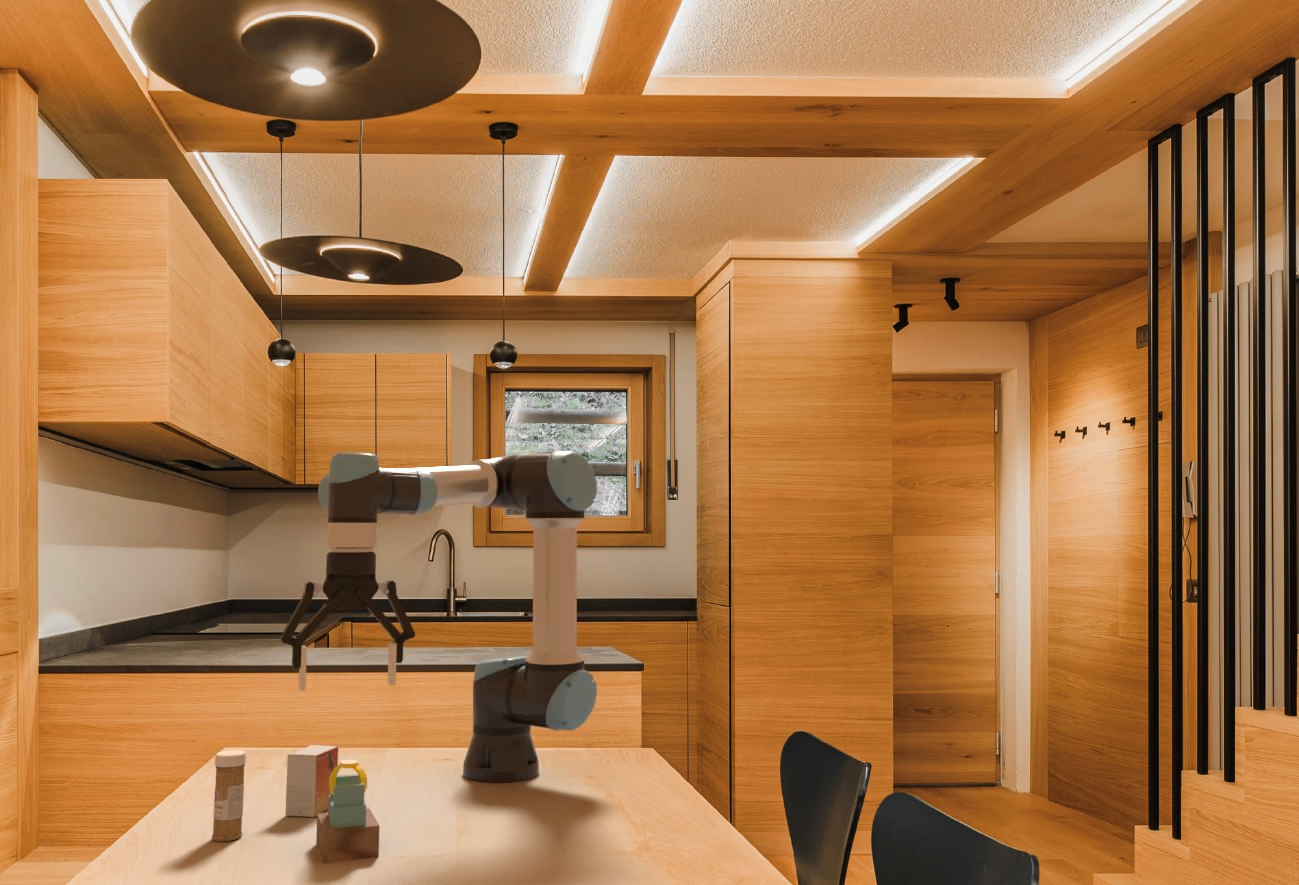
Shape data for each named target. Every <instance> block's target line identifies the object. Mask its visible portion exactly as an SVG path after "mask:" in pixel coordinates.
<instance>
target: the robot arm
mask: <svg viewBox="0 0 1299 885" xmlns="http://www.w3.org/2000/svg"><path fill="white" fill-rule="evenodd" d="M379 461H380V460H379V457H378V455H377V454H374V453H367V452H366V453H364V452H340V453H336V454H334V455H333V456H332V457H331V459H330V463H329V471H328V472H329V473H327V474H326V475H325V476H323V477H322V478H321V480H320V482H319V485H318V489H317V490H318V491H317V496H318V501H319V504H320V505H321V507H322V508H323V509H325V511H326V512H327V515H328V516H327V538H326V539H327V541H326V542H327V543H326V547H327V548H328V549H330V552H329V551H328V552H327V554H326V564H325V565H326V566H325V580H324V582H323V583H315V582H312V581H306V582H305V583H304V587H303V594H302V597H301V598H300V600H299V602H298V604H297V605H296V608H295V610H294V611H293V613H292V615H291V617H290V619H289V620H288V622H287V624H286V626H285V628H284V630H283V631H282V633H281V635H280V637H279V638H280V641H281V643H283V644H286V645H289V646H291V647H292V650H291V651H292V652H291V654H292V656H291V664H292V667H293V669H298V690H299V691H300V692H301V691H302V692H305V691H307V690H306V683H307V660H308V658H307V656H308V654H307V653H308V647H307V646H306V645H303V644H304V643H306V641H307V640H308V638H309V637H310V636H311V635H312V634H313V633H314V632H315V631H316V630H317V628H318V627H319V626H320V625H321V624H322V623H323V622H324V621H325V619H326V618H327V617H328V616H329V615H330V614H331V613H332V612H333V611H334V610H335V609H336V610H339V611H348V610H352V611H353V610H355V611H361V610H363V609H365V608H366V610H368V611H369V612H370V614H371V615H372V616H373V617H374V618H375V619H376V621H378V623H379V624H380V625H381V626H382V628H384V629H385V631H386V633H388V634H389V635H390V637H391V638H392V639H393V641H389V642H388V655H387V656H388V660H387V661H388V664H387V666H388V667H387V684H388V685H389V686H396V685H397V683H396V682H397V664H402V663H403V660H404V643H405V642H406V641H407V640H410V639H414V638H415V637H416V632H415V630H414V628H413V626H412V623H411V622H410V620H409V617H408V615H407V613H406V611H405V609H404V607H403V604H402V603H401V601H400V599H399V596H398V595H397V593H398V591H397V585H396V584H397V583H396V582H395V581H394V580H390V579H388V580H386V581H382V582H378V581H377V578H376V570H377V569H376V568H377V567H376V566H377V554H376V553H375V552H374V551H373V549H376V548H377V527H378V526H377V525H378V524H377V523H378V514H379V515H390V514H391V515H403V514H404V515H412V516H414V515H417V514H418V515H419V514H420V515H421V514H426V513H428V512H430V511H431V510H432V509H433V508H435V507H445V506H446V507H447V506H457V505H458V506H459V505H467V504H468V505H471V506H472V507H475V508H479V509H480V508H481V509H482V508H499V509H509V510H516V511H517V510H518V511H525V521H526V522H527V523H528V524H529V525H530V526H531V527H532V529H533V530H532V531H533V534H532V535H533V539H532V540H533V541H532V544H533V545H532V546H533V547H532V550H533V554H532V556H533V559H532V561H533V562H532V565H533V566H532V569H533V571H532V572H533V573H532V575H533V576H532V579H533V581H532V583H533V584H532V585H533V586H532V651H531V652H530V653H529V654H528V655H522V656H521V655H520V656H509V657H508V656H507V657H499V658H493V659H485V660H480V661H479V662H477V664H476V665H475V667H474V674H473V675H474V676H473V681H472V691H473V692H472V736H471V739H470V742H469V746H468V748H467V751H466V753H465V754H466V755H465V757H464V761H463V767H462V775H463V776H464V777H465V778H466V779H470V780H472V781H479V782H486V783H506V782H507V783H508V782H517V781H522V780H523V781H524V780H528V779H532V778H533V777H534V778H535V776H537V775H538V774H539V772H540V770H539V768H540V765H539V764H540V763H539V757H538V754H537V750H536V748H535V745H534V740H533V737H532V734H531V727H537V728H544V729H548V730H552V731H555V732H556V731H568V732H569V731H574V730H577V729H579V728H580V727H582V726H583V725H584V724H585V723H586V722H587V720H588V718H589V716H591V714H592V712H593V709H594V707H595V704H596V702H597V701H596V700H597V694H598V693H597V692H598V691H597V690H598V689H597V688H598V687H597V683H596V679H595V678H594V676H593V674H592V673H591V672H589V671H587V670H585V657H584V656H583V655H582V654H581V653H580V652H579V650H578V648H577V646H578V645H577V641H578V640H577V639H578V638H577V636H578V635H577V628H578V626H577V623H578V622H577V620H578V619H577V616H578V614H577V612H578V609H577V607H578V606H577V600H578V599H577V598H578V595H577V592H578V590H577V589H578V587H577V586H578V585H577V584H578V581H577V580H578V577H577V574H578V572H577V570H578V568H577V567H578V564H577V563H578V562H577V561H578V558H577V556H578V554H577V553H578V551H577V548H578V546H577V545H578V543H577V542H578V534H577V533H578V527H579V526H580V525H581V524H582V523H583V522H584V521H585V511H586V510H588V509H589V508H590V507H592V505H593V504H594V500H595V499H596V497H597V492H598V487H597V486H598V483H597V478H596V474H595V471H594V469H593V467H592V465H591V464H590V463H589V462H588V460H587V458H586V457H584V455H582V454H581V453H579V452H575V451H563V450H554V451H541V452H539V451H538V452H528V453H527V452H522V453H520V452H519V453H513V454H508V455H504V456H503V455H502V456H497V457H493V458H487V459H486V458H485V459H475V460H472V461H470V463H469V464H467V465H450V466H449V465H448V466H447V465H445V466H426V467H423V466H422V467H405V468H404V467H403V468H402V467H401V468H391V467H389V468H388V467H387V468H386V467H380V466H381V465H380V463H379ZM321 591H322V592H323V594H324V595H325V596H326V598H327V600H326V601H325V602H324V603H323V604H322V606H321V607H320V608H319V609H318V611H317V612H316V613H315V614H314V616H313V617H312V618H311V619H310V620H309V621H308V622H307V623H306V625H304V626H303V627H302V629H301V630H300V631H299V633H298V634H297V635H296V636H294V634H295V632H296V630H297V628H298V626H299V625H300V623H301V620H302V619H303V617H304V616H305V613H306V611H307V610H308V608H309V606H310V604H311V603H312V600H313V598H314V597H317V596H318V594H319V593H320V592H321ZM378 591H381V593H382V594H383V596H384V595H385V596H386V598H387V600H388V602H389V603H390V606H391V608H392V610H393V612H394V614H395V617H396V618H397V620H398V622H399V624H400V628H401V629H402V632H400V631H399V629H397V628H396V626H395V625H394V623H392V622H391V620H390V619H389V618H388V617H387V615H385V613H384V612H383V611H382V609H381V608H379V606H378V604H376V602H375V601H374V600H373V597H374V596H375V595H376V594H377V592H378Z"/></svg>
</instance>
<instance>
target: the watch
mask: <svg viewBox="0 0 1299 885" xmlns="http://www.w3.org/2000/svg"><path fill="white" fill-rule="evenodd" d="M341 768H342V769H353V770H354V771H355V772H356V774H358V775H359V777H360V783H364V784H365V786H364V794H365V793H366V791H367V789H368V788H367V787H368V777H367V774H366V771H365V770H364V768H363V767H362V766H361V765H359V760H356V759H344V760H340V761H339V764H338V766H337V767H335V768H334V769H333V771H332V773H331V775H330V780H329V786H330V790H331V793H332V795H333V796H334V785H336V775H337V776H338V773H339V771H340V769H341Z"/></svg>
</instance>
